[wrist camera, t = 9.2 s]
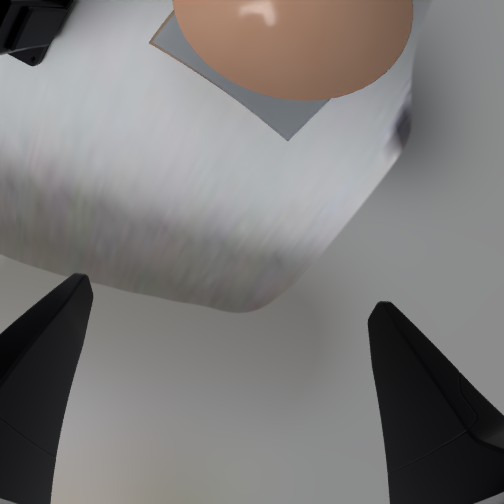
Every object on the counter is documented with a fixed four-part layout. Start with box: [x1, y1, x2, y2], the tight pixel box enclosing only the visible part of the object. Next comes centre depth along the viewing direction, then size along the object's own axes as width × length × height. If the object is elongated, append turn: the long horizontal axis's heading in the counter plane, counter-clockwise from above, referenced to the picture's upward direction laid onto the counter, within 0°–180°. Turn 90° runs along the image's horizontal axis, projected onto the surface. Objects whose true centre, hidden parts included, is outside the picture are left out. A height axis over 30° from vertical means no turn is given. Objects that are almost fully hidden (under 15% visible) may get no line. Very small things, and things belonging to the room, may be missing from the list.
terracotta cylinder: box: [173, 0, 413, 101], centre depth 6 cm, size 5×5×5 cm
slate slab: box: [152, 14, 331, 141], centre depth 10 cm, size 6×6×4 cm
